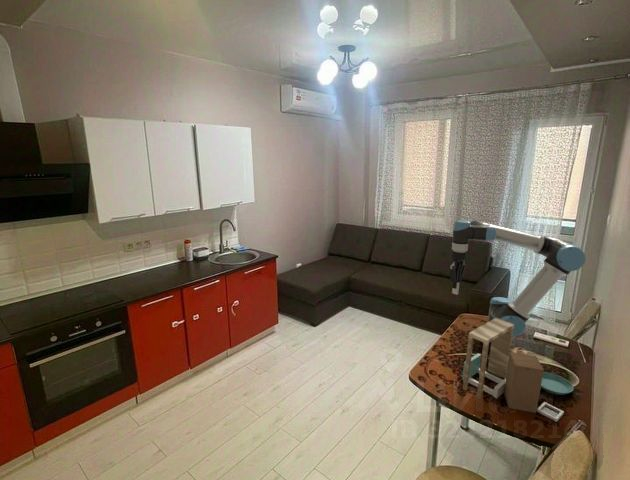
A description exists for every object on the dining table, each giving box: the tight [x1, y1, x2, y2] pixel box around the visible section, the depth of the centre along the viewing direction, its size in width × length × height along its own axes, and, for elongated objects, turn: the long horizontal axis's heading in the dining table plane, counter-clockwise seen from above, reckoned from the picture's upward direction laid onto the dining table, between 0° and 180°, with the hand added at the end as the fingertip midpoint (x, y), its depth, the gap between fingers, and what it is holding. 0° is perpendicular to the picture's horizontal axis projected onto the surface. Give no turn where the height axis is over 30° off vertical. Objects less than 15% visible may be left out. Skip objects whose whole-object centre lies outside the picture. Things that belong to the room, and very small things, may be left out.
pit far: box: [536, 401, 565, 423], centre depth 137 cm, size 7×7×1 cm
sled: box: [462, 352, 506, 399], centre depth 153 cm, size 12×16×9 cm
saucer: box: [541, 371, 575, 396], centre depth 152 cm, size 15×15×3 cm
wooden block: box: [503, 352, 545, 414], centre depth 140 cm, size 10×10×20 cm
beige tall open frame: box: [462, 318, 514, 400], centre depth 152 cm, size 23×8×28 cm, turn 126°
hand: (455, 293), depth 181 cm, fingers closed
